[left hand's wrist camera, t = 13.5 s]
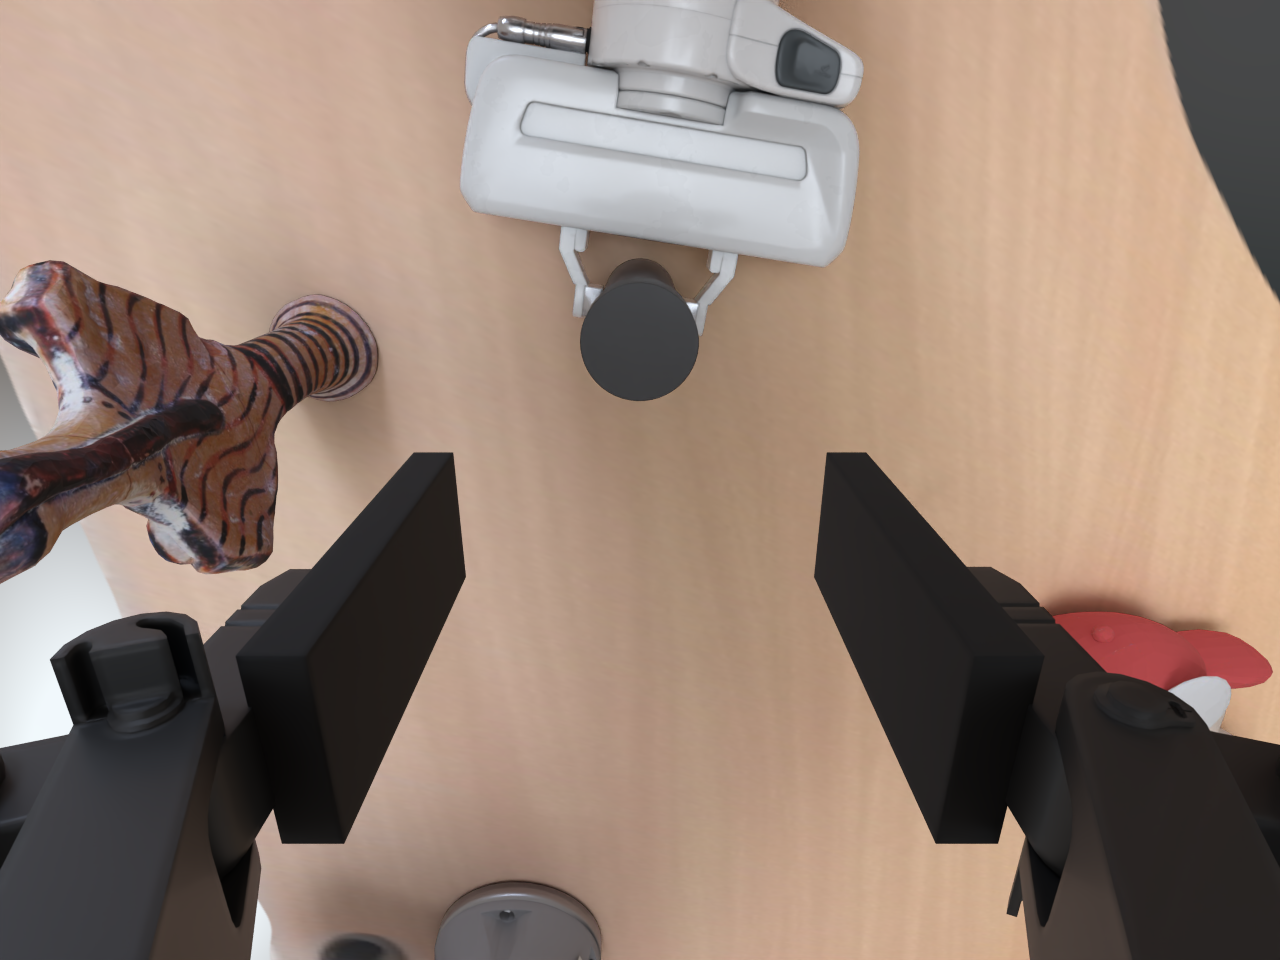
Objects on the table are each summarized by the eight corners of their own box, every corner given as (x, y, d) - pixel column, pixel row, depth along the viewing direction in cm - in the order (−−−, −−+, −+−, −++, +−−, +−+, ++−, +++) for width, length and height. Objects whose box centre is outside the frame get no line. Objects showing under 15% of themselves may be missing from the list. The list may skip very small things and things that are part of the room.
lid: (714, 307, 32) (719, 314, 30) (665, 406, 34) (667, 419, 32) (611, 257, 31) (609, 261, 29) (566, 361, 33) (561, 372, 31)
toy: (1164, 963, 57) (1020, 762, 45) (1076, 853, 67) (937, 661, 55) (1379, 841, 55) (1287, 593, 43) (1256, 744, 64) (1152, 518, 52)
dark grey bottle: (686, 277, 45) (708, 316, 31) (656, 340, 47) (663, 407, 32) (622, 246, 45) (613, 271, 30) (594, 311, 46) (572, 366, 32)
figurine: (206, 273, 45) (-492, 400, 17) (302, 209, 44) (-289, 235, 16) (351, 464, 50) (-14, 806, 22) (442, 412, 49) (175, 706, 21)
